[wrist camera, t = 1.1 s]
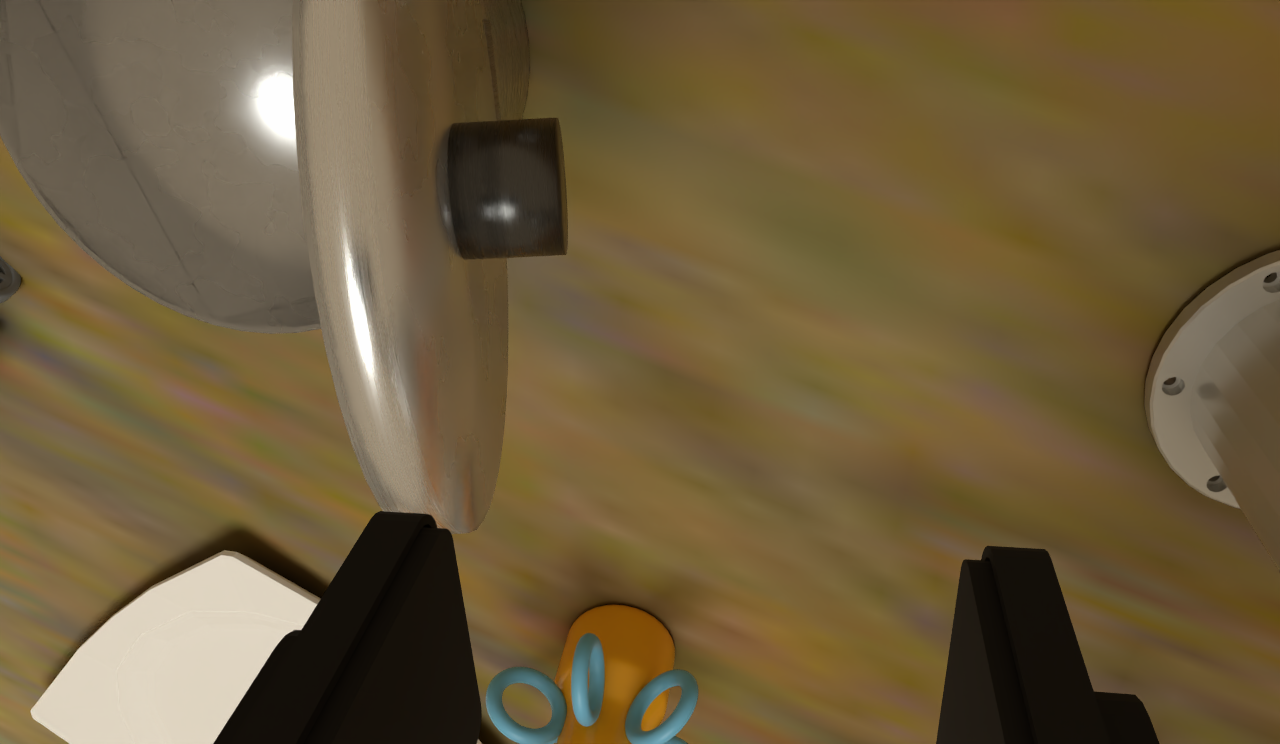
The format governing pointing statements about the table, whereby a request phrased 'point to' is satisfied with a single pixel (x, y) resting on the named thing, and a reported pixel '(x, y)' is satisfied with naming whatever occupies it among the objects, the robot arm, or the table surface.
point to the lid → (418, 237)
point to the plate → (176, 656)
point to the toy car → (8, 281)
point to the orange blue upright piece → (605, 684)
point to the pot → (182, 143)
